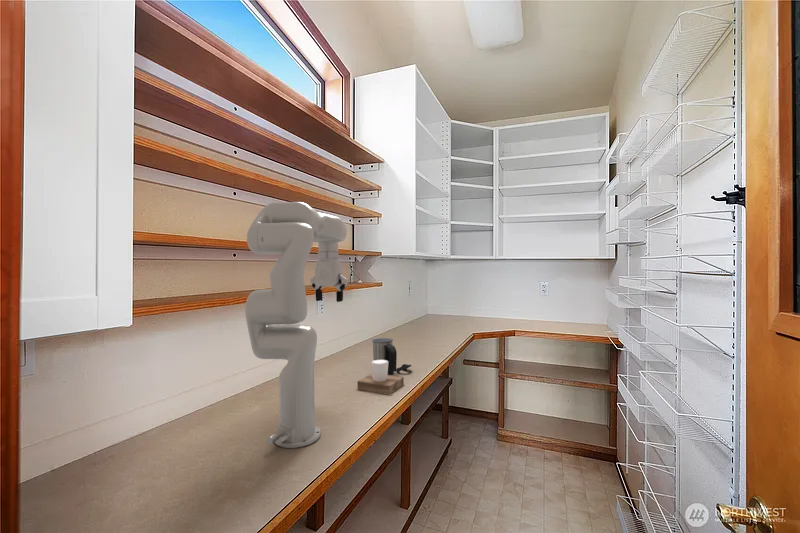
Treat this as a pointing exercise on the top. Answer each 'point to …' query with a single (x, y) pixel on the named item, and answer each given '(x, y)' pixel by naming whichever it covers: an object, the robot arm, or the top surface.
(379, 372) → the white cup
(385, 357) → the milk frother
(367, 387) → the walnut riser
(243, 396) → the top surface
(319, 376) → the top surface
